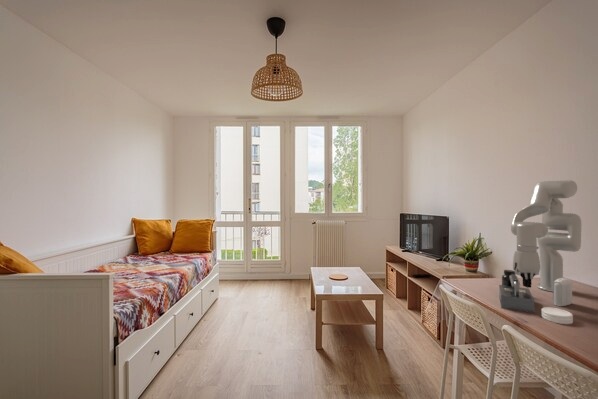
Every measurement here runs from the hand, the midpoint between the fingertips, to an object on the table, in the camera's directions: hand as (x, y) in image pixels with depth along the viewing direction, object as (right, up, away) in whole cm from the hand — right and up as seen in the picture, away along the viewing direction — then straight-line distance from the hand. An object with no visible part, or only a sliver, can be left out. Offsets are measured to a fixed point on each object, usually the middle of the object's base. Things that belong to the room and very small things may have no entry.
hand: (527, 286), depth 138 cm
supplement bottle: (+3, -8, +15) cm, 17 cm away
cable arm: (-5, +1, +1) cm, 5 cm away
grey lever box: (-6, -8, -1) cm, 10 cm away
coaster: (-2, -9, -18) cm, 20 cm away
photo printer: (+16, -8, -2) cm, 18 cm away
